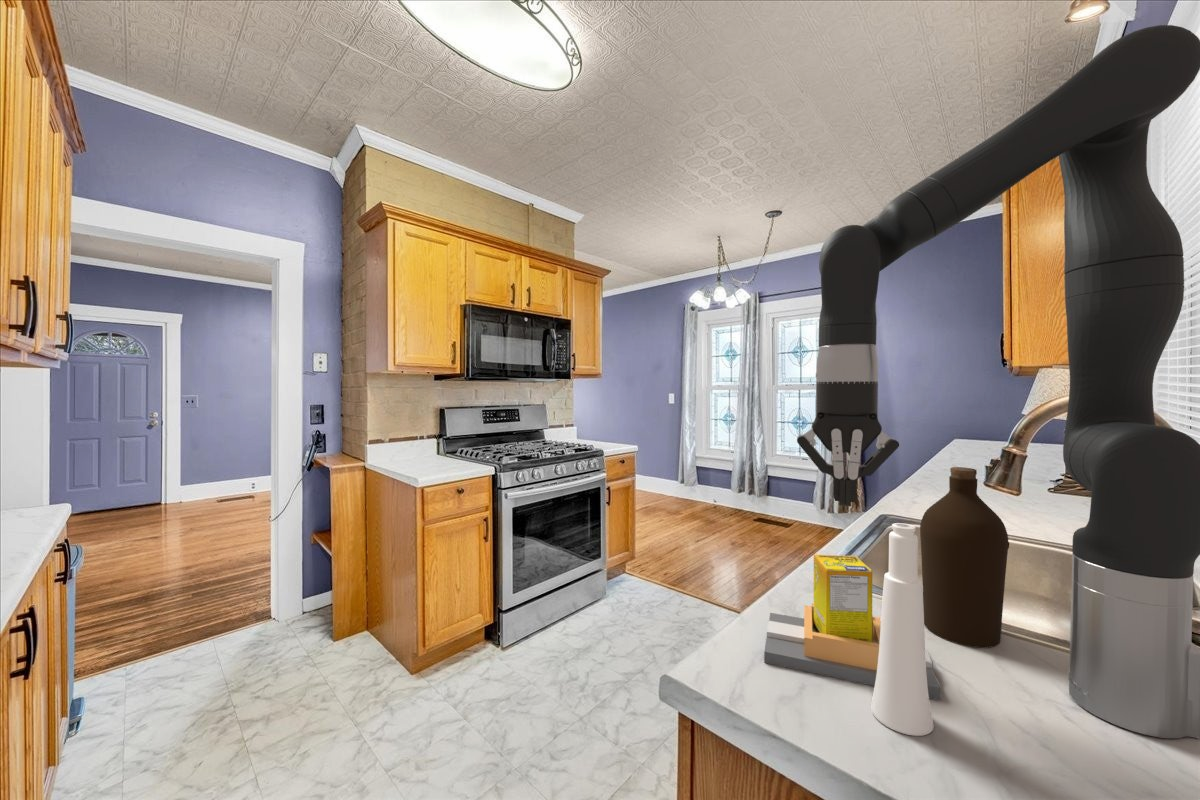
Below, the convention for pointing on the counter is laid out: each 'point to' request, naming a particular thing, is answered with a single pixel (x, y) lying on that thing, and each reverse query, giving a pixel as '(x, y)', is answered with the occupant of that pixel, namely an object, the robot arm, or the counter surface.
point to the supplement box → (842, 597)
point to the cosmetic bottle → (902, 642)
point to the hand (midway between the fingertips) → (844, 504)
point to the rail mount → (828, 651)
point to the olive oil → (963, 565)
